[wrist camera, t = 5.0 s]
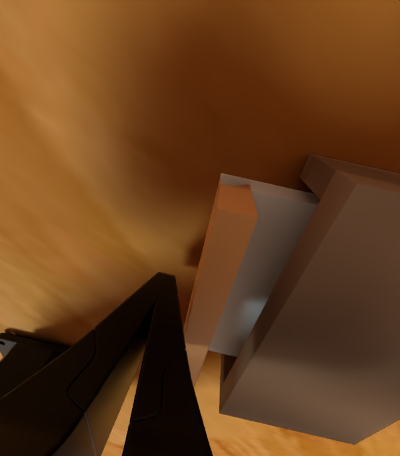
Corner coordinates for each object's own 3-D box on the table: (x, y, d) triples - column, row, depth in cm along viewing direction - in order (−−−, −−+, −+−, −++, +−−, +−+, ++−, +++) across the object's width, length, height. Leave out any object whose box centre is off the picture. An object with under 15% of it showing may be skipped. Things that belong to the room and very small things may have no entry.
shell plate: (320, 354, 12) (344, 421, 10) (184, 324, 12) (172, 382, 10) (440, 221, 8) (547, 281, 5) (221, 172, 8) (217, 208, 5)
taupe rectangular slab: (330, 377, 13) (354, 444, 11) (221, 352, 13) (219, 413, 11) (518, 199, 7) (690, 258, 4) (310, 153, 7) (357, 183, 4)
